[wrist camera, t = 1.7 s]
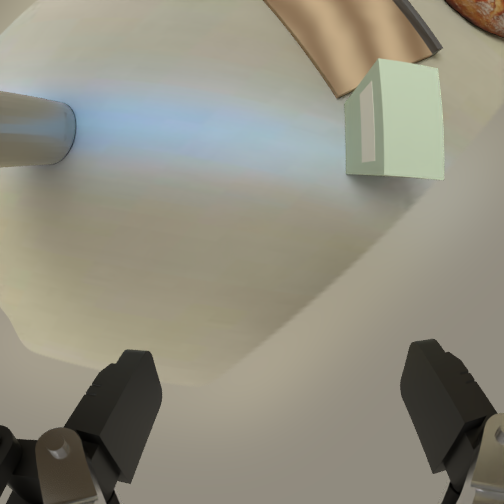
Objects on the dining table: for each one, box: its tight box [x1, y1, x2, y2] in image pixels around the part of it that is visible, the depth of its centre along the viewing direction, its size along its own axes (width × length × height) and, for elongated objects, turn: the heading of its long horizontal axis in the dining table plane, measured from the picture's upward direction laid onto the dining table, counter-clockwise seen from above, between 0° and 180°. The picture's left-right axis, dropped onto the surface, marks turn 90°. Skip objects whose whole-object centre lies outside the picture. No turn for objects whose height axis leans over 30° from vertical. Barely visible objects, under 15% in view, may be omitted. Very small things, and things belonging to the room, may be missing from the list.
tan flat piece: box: [263, 0, 443, 98], centre depth 26 cm, size 15×16×3 cm
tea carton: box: [344, 58, 444, 180], centre depth 24 cm, size 4×8×15 cm, turn 1°
